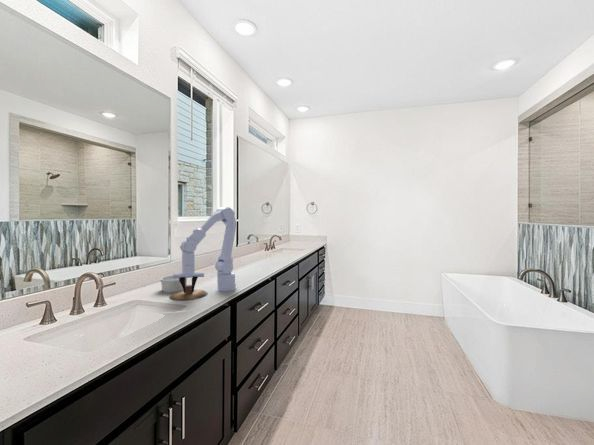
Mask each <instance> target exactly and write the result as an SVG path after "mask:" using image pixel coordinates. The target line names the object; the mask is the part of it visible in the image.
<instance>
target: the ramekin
mask: <svg viewBox="0 0 594 445" xmlns="http://www.w3.org/2000/svg"><path fill="white" fill-rule="evenodd" d="M187 281H188V278H186V285H188V282H187ZM160 283H161V290H162V291H163V292H164V293H176V292H179V291H184V290H183V287H182V285H181V283H180V281H179V278H175V279H173V277H172V275H168V276H164V277H161V278H160Z"/></svg>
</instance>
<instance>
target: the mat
mask: <svg viewBox="0 0 594 445" xmlns="http://www.w3.org/2000/svg"><path fill="white" fill-rule="evenodd" d="M208 295H209V293H208V291H206V295H205V296H203V297H200V298H197V299H191V300H190V301H195V300H200V299H203V298H205V297H207V296H208ZM168 299H169V300H172V301H176V302H177V301H178V302H186V301H189V300H175V299H172V298H171V295H169V296H168Z"/></svg>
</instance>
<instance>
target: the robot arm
mask: <svg viewBox="0 0 594 445" xmlns="http://www.w3.org/2000/svg"><path fill="white" fill-rule="evenodd" d="M235 215H236V212H235V211H234V210H233V208H231V207H218V208H216V210H215V211H213V212H212V214H211V215H210V216H209V218H208V219H207V220H206V221H205V222H204V223H203V224H202V225H201V227H200V228H196V229H193V230H192V233H191V234H190V235H189V236H188V237H186V239H185V240H183V241H182V242H181V243H180V244H181V245H180V246H179V248H180V250H181V252H182V253H181V263H182V264H181V269H182V270H181V271H182V272H181V273H173V274H171V276H172V277H173V279H175V278H179V281H180V283H181V285H182V287H183V290H182V291H184V293H185V286H186V278H187V279H189V278H191V285H192V292H194V290H195V285H196V284H197V281H198V279H199V278H204V277H205V272H196V270H195V268H196V266H195V262H196V260H195V251H196V250H197V246H199V244H200V243H201V242H202V241H203V240H204V238H205V237H206V233H207V232H208V231H209V230H210V229H211V228H212V227H213V226H214V225H215V224H216V223H217V222H220V221H221V222H222V223H223V224H224V225H225V230H224V235H223V241H222V247H221V252H220V255H219V256H218V258H217V261H216V263H215V265H214V266H215V270H216V271H217V274H216V275H217V276H216V277H217V278H216V279H217V280H216V281H217V287H216V292H229V291H231V292H232V291H236V285H237V284H236V273H235V272H233V270H234V264H233V261H234V260H233V258H232V252H233V247H234V241H235V236H236V229H237V224H238V223H237V220H236V216H235Z"/></svg>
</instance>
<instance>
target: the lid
mask: <svg viewBox="0 0 594 445" xmlns="http://www.w3.org/2000/svg"><path fill="white" fill-rule="evenodd" d="M206 292H207V291H205V290H204V289H203V290H202V289H195V288H194V292H192V284H187V285H186V286H185V293H184V290H182V291H178V292H172V293H171V295H170V296H171V298H172V299H175V300H188V301H192V300H191V299H195V300H198V299H197V298H200V297H203V296H205V295H206ZM205 297H206V296H205ZM203 298H204V297H203ZM200 299H201V298H200ZM175 300H174V301H175Z"/></svg>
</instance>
